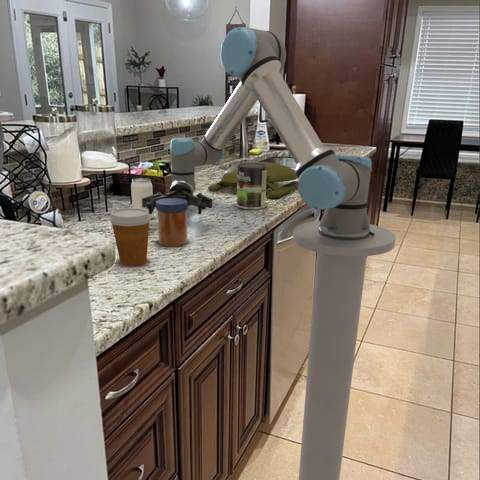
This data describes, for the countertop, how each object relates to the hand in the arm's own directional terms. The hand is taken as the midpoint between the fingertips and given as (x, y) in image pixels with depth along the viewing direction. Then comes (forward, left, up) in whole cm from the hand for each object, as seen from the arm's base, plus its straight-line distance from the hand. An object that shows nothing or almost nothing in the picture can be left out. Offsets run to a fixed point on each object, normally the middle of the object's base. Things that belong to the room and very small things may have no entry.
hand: (174, 209), depth 138 cm
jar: (0, +6, -8) cm, 10 cm away
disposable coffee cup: (+8, +22, -8) cm, 24 cm away
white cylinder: (+12, -20, -8) cm, 25 cm away
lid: (0, +6, +3) cm, 7 cm away
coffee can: (-23, -38, -8) cm, 45 cm away
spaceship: (-27, -71, -8) cm, 77 cm away
